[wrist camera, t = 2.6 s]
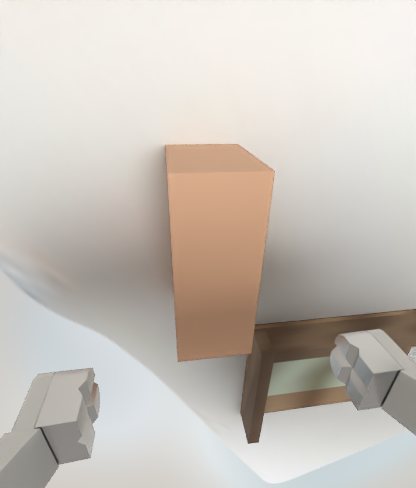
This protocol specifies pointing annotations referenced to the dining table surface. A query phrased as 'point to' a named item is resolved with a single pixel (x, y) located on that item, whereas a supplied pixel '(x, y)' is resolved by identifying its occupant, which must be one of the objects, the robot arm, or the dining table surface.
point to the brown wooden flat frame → (306, 362)
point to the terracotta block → (216, 246)
